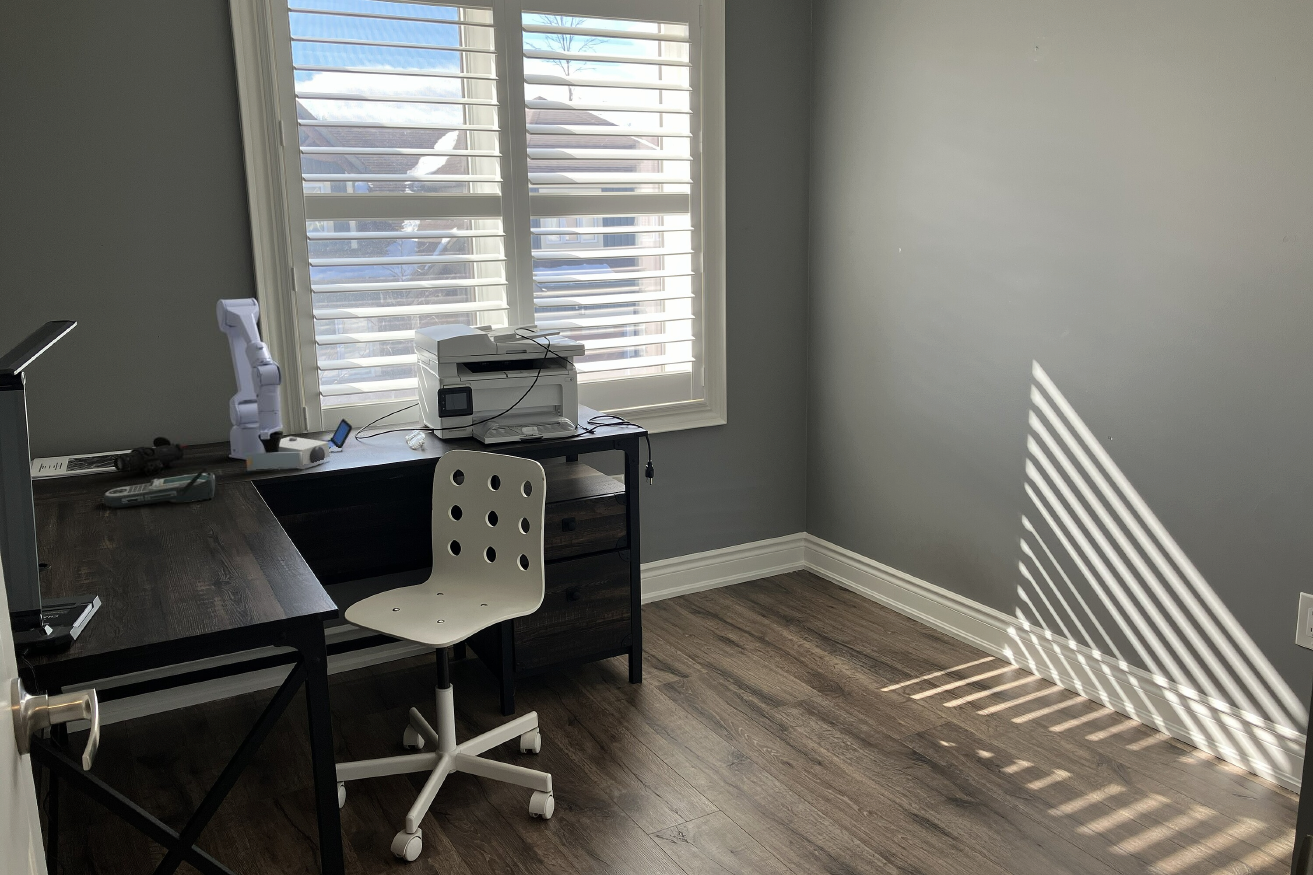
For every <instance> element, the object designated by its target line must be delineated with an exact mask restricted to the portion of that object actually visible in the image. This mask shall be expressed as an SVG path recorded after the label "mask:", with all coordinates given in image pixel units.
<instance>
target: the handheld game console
mask: <svg viewBox="0 0 1313 875" xmlns="http://www.w3.org/2000/svg"><path fill="white" fill-rule="evenodd" d="M352 430H353V426H352V425H351V424H350V423H349V421H347V420H346V419H345V418H342V419H341V421H340V422H339V423H338V426H337V427H336V430H335V432H333V435H332V437H330V439H325V440H324V439H323V440H322V441H324V442H329V449H330V448H331V447H333V446H336V447H338V448H342V449H343V446H344V445H345V443H346V441H347V439H348V437H349V435H350V434H351V432H352Z"/></svg>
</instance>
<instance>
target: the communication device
mask: <svg viewBox="0 0 1313 875" xmlns="http://www.w3.org/2000/svg"><path fill="white" fill-rule="evenodd" d="M207 470H208V467H207V466H205V467H203V468H202V469H201V470H200V471H199V472H198V473H194V474H184V475H181V476H180V475H178V476H174V477H173V476H172V477H165V478H155V479H151V480H150V482H149V483H143V484H142V483H141V484H136V485H135V484H134V485H130V486H122V487H117V488H113V489H110V490H108V491H107V492H105V493H104V495H103V500H104V505H106V506H107V507H110V508H127V507H133V506H139V505H140V506H141V505H148V504H153V503H161V502H166V501H169V502H171V503H173V502H183V503H186V502H185V501H192V500H199V499H207V500H210V499H209V498H211V499H213V498H215V497H214V495H215V488H216V486H215V484H216V477H215V474H214V473H212V472H208V473H205V472H206V471H207Z"/></svg>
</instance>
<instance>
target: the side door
mask: <svg viewBox="0 0 1313 875" xmlns="http://www.w3.org/2000/svg"><path fill="white" fill-rule="evenodd" d="M295 466H303V461H302V452H274V453H246V468H247V471H257V470H256V469H268V468H278V467H295Z"/></svg>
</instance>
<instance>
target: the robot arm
mask: <svg viewBox="0 0 1313 875" xmlns="http://www.w3.org/2000/svg"><path fill="white" fill-rule="evenodd" d="M215 311H216V318H217V322H218V327H219V331H221V332H223V333H225V334H226V336H227V339H228V342H229V349H230V356H231V359H232V366H233V370H234V376H235V382H236V386H237V392H236V394H234V395H233V396H232V397H231V398H230V400H229V416H230V420H231V423H232V425H234V426H232V428H231V429H230V432H229V439H230V453H231V454H229V455H228V456H229V458H232V459H239V460H240V459H241V460H246V453H264V449H263V446H264V448H265V451H266V453H274V452H279V445H280V441H281V439H283V438H282V437H283V435H284V431H281V430H283V428H284V427H283V422H282V412H281V411H282V410H281V399H280V398H281V396H280V385H282V382H283V381H282V380H283V379H282V378H283V377H282V370H281V367H280V365H279V364H278V363H277V362H276V361H275V360H273V357H272V355H271V353H270V350H269V347H268V345H267V344H266V343H265V342H264V341H261V337H260V334H259V330H258V326H257V323H258V320H259V316H260V308H259V303H258V301H257V300H256V299H255V298H254V297H250V298H238V299H232V298H231V299H221V298H220V299H219V300H218V301H217V302H216V310H215ZM246 461H247V460H246Z"/></svg>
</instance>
